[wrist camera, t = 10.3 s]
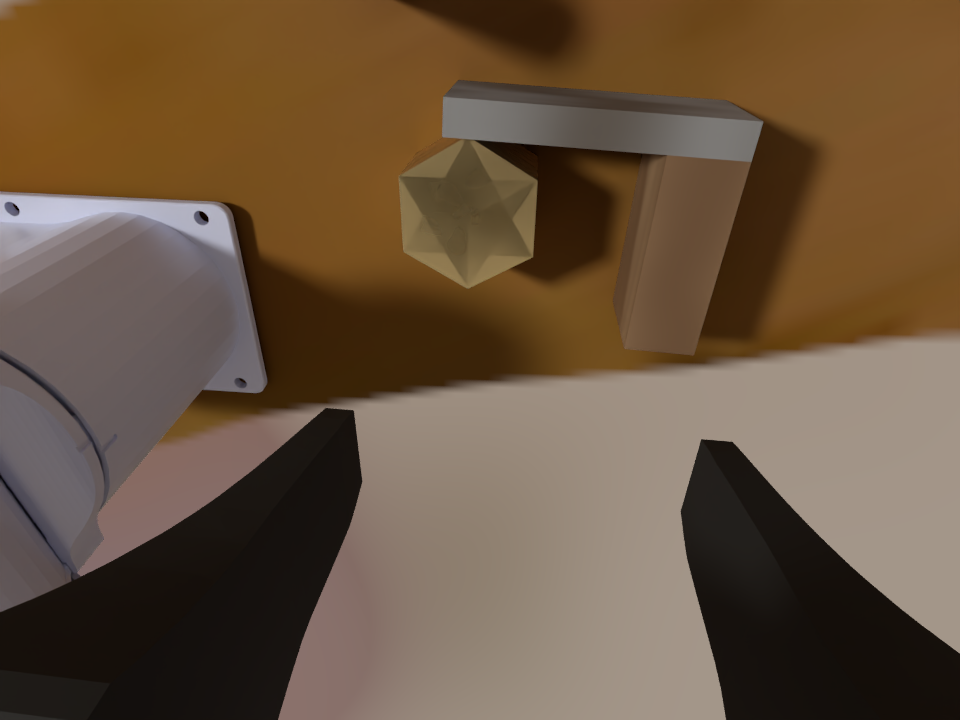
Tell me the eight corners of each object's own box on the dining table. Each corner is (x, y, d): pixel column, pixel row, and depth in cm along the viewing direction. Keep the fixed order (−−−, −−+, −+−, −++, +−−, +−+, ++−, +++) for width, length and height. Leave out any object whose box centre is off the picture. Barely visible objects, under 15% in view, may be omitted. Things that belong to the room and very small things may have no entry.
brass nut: (449, 267, 22) (437, 303, 19) (388, 169, 20) (366, 194, 17) (564, 209, 20) (567, 240, 18) (509, 97, 18) (504, 114, 16)
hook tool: (451, 285, 22) (437, 331, 19) (458, 79, 18) (443, 96, 15) (672, 305, 22) (693, 355, 19) (726, 100, 18) (763, 121, 15)
